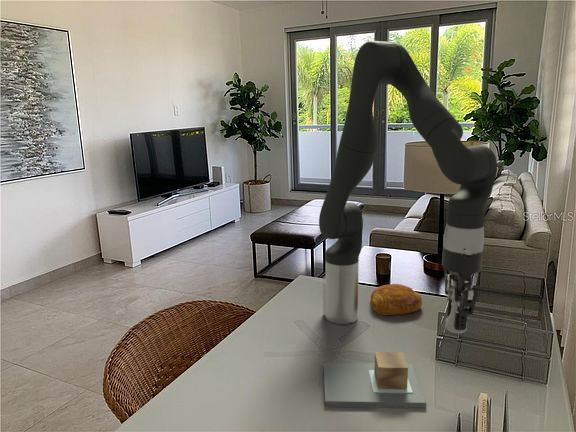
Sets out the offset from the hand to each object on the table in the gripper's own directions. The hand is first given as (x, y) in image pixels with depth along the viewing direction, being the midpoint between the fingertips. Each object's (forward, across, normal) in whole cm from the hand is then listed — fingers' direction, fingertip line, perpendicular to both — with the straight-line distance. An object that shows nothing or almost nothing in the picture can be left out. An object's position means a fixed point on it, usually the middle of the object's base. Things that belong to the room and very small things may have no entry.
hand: (456, 323), depth 95 cm
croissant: (+15, -38, -6) cm, 41 cm away
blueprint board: (+14, +2, -18) cm, 23 cm away
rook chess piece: (+2, 0, 0) cm, 2 cm away
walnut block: (+12, +2, -14) cm, 19 cm away
